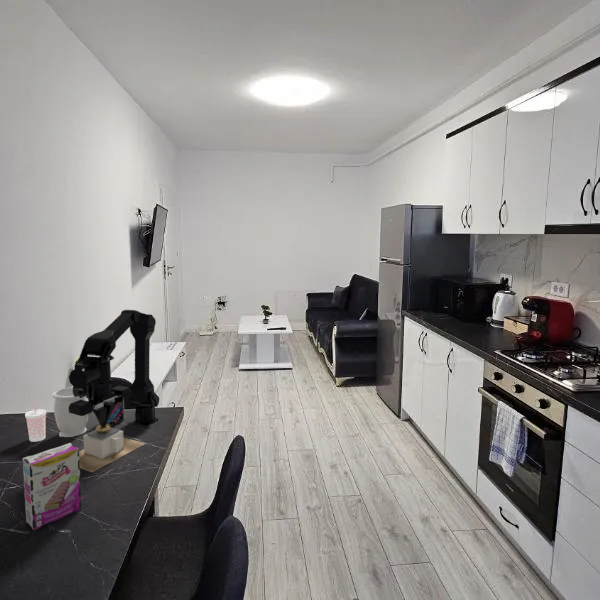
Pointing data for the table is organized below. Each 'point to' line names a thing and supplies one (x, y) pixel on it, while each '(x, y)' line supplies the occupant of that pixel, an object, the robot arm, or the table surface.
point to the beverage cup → (36, 423)
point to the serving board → (95, 464)
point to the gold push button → (102, 428)
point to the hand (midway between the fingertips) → (103, 426)
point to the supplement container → (117, 412)
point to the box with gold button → (103, 443)
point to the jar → (64, 419)
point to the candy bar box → (51, 485)
